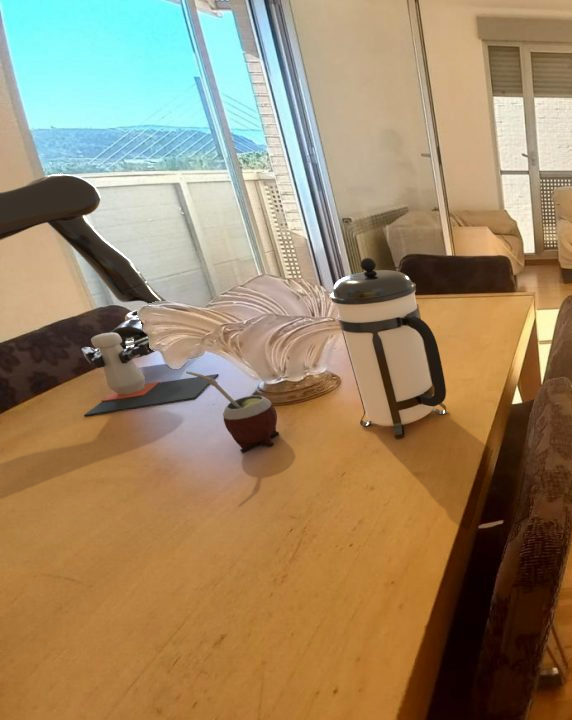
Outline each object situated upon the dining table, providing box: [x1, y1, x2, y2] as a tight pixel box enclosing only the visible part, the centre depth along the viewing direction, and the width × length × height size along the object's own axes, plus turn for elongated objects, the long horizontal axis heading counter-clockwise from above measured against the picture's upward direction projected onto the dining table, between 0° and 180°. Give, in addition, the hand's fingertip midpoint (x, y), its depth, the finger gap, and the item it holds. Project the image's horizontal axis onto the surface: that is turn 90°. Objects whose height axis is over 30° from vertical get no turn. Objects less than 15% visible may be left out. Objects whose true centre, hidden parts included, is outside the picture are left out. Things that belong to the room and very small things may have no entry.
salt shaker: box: [90, 332, 146, 395], centre depth 100 cm, size 6×6×13 cm
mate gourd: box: [185, 370, 280, 454], centre depth 79 cm, size 8×8×15 cm
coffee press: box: [330, 257, 447, 439], centre depth 82 cm, size 17×16×30 cm
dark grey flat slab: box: [83, 373, 219, 417], centre depth 102 cm, size 18×13×1 cm
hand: (110, 361), depth 97 cm, fingers open, 3 cm apart
